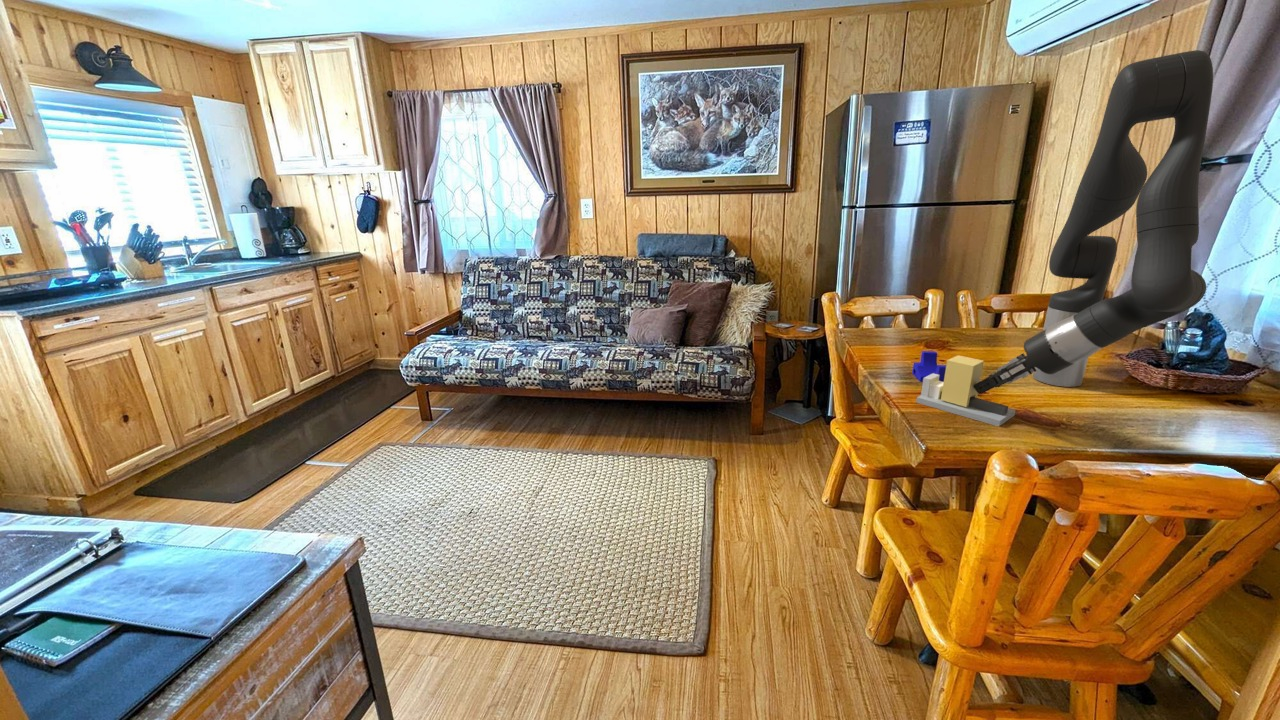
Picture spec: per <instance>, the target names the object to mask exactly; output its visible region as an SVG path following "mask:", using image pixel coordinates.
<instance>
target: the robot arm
mask: <svg viewBox="0 0 1280 720" xmlns="http://www.w3.org/2000/svg"><path fill="white" fill-rule="evenodd" d="M1213 87H1214V67H1213V62H1212V59H1211V56H1210V55H1209V54H1208V53H1207V52H1206V51H1204V50H1198V49H1197V50H1188V51H1182V52H1178V53H1174V54H1169V55H1168V54H1167V55H1162V56H1158V57H1151V58H1149V59H1147V58H1146V59H1143V60H1139V61H1135V62H1131V63H1130V64H1129V63H1128V64H1127V65H1125V66H1124V67H1123V68H1122V69H1120V71H1119V73H1118V74H1117V76H1116V77H1115V80H1114V82H1113V84H1112V87H1111V88H1110V89H1111V90H1110V93H1109V96H1108V99H1107V103H1106V107H1105V111H1104V114H1103V117H1102V120H1101V126H1100V128H1099V129H1100V130H1099V132H1098V136H1097V139H1096V143H1095V145H1094V148H1093V151H1092V153H1091V156H1090V159H1089V161H1088V163H1087V166H1086V168H1085V170H1084V173H1083V176H1082V177H1081V179H1080V182H1079V185H1078V187H1077V191H1076V193H1075V197H1074V199H1073V203H1072V206H1071V208H1070V211H1069V215H1068V217H1067V219H1066V222H1065V224H1064V226H1063V227H1062V230H1061V232H1060V234H1059V236H1058V238H1057V239H1056V242H1055V243H1054V246H1053V248H1052V251H1051V254H1050V257H1049V261H1048V262H1049V263H1048V265H1049V271H1050V273H1051V274H1052V275H1054V276H1055V277H1058V278H1065V279H1082V280H1086V281H1085V282H1084V283H1083V284H1081V285H1078V286H1077V287H1074V288H1072V289H1067V290H1063V291H1057V292H1055V293H1053V294H1051V296H1049V297H1050V298H1049V302H1048V306H1047V311H1046V315H1045V321H1044V325H1043V329H1042V331H1040V332H1038V333H1036V334H1034V335H1033V336H1031V337H1029V338H1027V339H1026V340H1025V341H1024V342H1023V350H1024V352H1025V353H1021V354H1020V355H1017V356H1016V357H1013V358H1012V359H1010V360H1009V361H1008V362H1007V363H1005V364H1004V365H1001V366H1000V367H998V368H997V369H996V371H994V372H993V373H991V374H989V375H988V377H986V378H984V379H982V380H980V382H978V383H977V384H975V385H974V386H973V387H974V389H975V390H976V391H977V393H978V395H983V394H984V393H986V392H988V391H990V390H992V389H994V388H1000V387H1002V386H1003V385H1005V384H1011V383H1013V382H1016V381H1017V380H1019V379H1024V378H1026V377H1029V376H1031V375H1032V377H1033V378H1034V380H1036V381H1038V382H1041V383H1044V384H1047V385H1050V386H1051V385H1052V386H1056V387H1057V386H1058V387H1065V388H1066V387H1068V388H1071V387H1075V388H1076V387H1079V386H1081V385H1082V384H1083V380H1084V375H1085V372H1086V369H1087V368H1086V367H1087V364H1088V360H1089V357H1091V356H1093V355H1094V354H1096V353H1097V352H1098V351H1100V350H1102V349H1103V348H1106V347H1108V346H1110V345H1112V344H1114V343H1116V342H1118V341H1120V340H1122V339H1124V338H1126V337H1128V336H1129V335H1131V334H1133V333H1135V332H1136V331H1137V332H1138V331H1139V330H1141V329H1143V328H1146V327H1150V326H1152V325H1154V324H1155V325H1156V324H1157V323H1159V322H1162V321H1164V320H1167V319H1170V318H1172V317H1175V316H1177V315H1178V314H1181V313H1184V312H1185V311H1187V310H1189V309H1191V308H1193V307H1195V306H1196V305H1197V304H1199V302H1200V301H1202V299H1203V297H1204V296H1205V295H1206V291H1207V283H1206V280H1205V278H1204V277H1203V276H1202V275H1201V274H1200V273H1199V272H1197V271H1195V270H1193V269H1192V248H1193V246H1195V245H1196V243H1197V242H1198V239H1199V236H1200V235H1199V233H1200V226H1199V225H1200V217H1199V216H1200V215H1199V213H1200V212H1199V210H1200V209H1199V180H1200V172H1201V171H1200V170H1201V164H1202V158H1203V153H1204V147H1205V141H1206V137H1207V129H1208V123H1209V117H1210V115H1209V114H1210V108H1211V102H1212V101H1211V100H1212V97H1213ZM1171 118H1173V119H1174V132H1173V134H1172V135H1173V136H1172V138H1171V142H1170V144H1169V147H1168V149H1167V150H1166V151H1165V153H1164V155H1163V157H1161V160H1160V162H1159V163H1158V164H1157V166H1156V167H1155V168H1154V170H1153V171H1152V173H1151V174H1150V175H1149V176H1148V168H1147V164H1146V161H1145V159H1144V158H1143V157H1142V155H1141V154H1140V152H1139V151H1138V149H1136V147H1135V146H1134V144H1133V142H1132V140H1131V138H1130V136H1129V135H1130V132H1131V130H1132V128H1133V127H1134V126H1136V125H1137V124H1140V123H1147V122H1154V121H1160V120H1166V119H1171ZM1135 203H1136V205H1135ZM1134 205H1135V206H1136V208H1135V217H1136V221H1135V223H1136V239H1137V240H1136V241H1137V247H1136V251H1135V256H1134V259H1133V260H1134V261H1133V266H1132V271H1131V272H1132V273H1131V278H1130V279H1131V281H1130V282H1131V283H1130V284H1131V289H1129V290H1127V291H1125V292H1123V293H1121V294H1118V295H1117V296H1114V297H1113V296H1112V297H1108V298H1104V297H1105V293H1106V290H1107V285H1108V282H1109V279H1110V276H1111V273H1112V269H1113V266H1114V265H1115V260H1116V257H1117V252H1118V243H1117V240H1116V238H1114V237H1113V236H1109V235H1091V234H1092V233H1095V231H1099V229H1102V228H1103V227H1105V226H1106V225H1109V224H1111V223H1112V222H1114V221H1115V220H1118V219H1119V218H1120V217H1122V216H1123V215H1124V214H1125V213H1127V212H1128V211H1130V209H1131V208H1132V207H1133V206H1134ZM1025 354H1026V355H1025Z"/></svg>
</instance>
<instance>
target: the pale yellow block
mask: <svg viewBox="0 0 1280 720" xmlns="http://www.w3.org/2000/svg"><path fill="white" fill-rule="evenodd" d="M984 362H985V360H981V359H977V358H972V357H969V356H968V357H967V356H963V355H959V354H957V355H955V356H953V357H951V358H949V359H947V360H946V364H945V365H946V371H945V377H944V383H943V389H942V395H941V400H943V401H946V402H950V403H954V404H957V405H961V406H964V407H967V406H969V400H970V397H976V398H978V395H979V394H978V393H977V391H976V390H975V389H974V387H973V386H974V385H975V384H977V383H978V382H980V381H981V377H982V373H983V367H984Z"/></svg>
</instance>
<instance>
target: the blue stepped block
mask: <svg viewBox="0 0 1280 720" xmlns="http://www.w3.org/2000/svg"><path fill="white" fill-rule="evenodd" d="M920 355H921V356H920V360H919V361H920V362H913V365H912V366H913V367H912V375H913V376H914V377H915V378H916V379H917V380H918V381H919V382H920V383H923V378H924V377H926V376H928V375H931V374H933V373H934V374H938V375H940V376H939V381H942V382H944V377H945V371H946V365H947V364H938V352H937V351H933V350H932V351H930V350H928V351H927V350H922V351H921V354H920Z"/></svg>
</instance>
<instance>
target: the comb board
mask: <svg viewBox="0 0 1280 720" xmlns="http://www.w3.org/2000/svg"><path fill="white" fill-rule="evenodd" d="M939 376H940V375H938V374H934V373H933V374H931V375H928V376H926V377H924V378H923V382H922V386H921V392H920V395H918V396H917V397H916V401H915V403H917V404H920V405H923V406H928V407H931V408H934V409H937V410H941V411H944V412H947V413H950V414H955V415H958V416H962V417H964V418H968V419H972V420H975V421H978V422H982V423H986V424H988V425H992V426H996V427H1000V426H1002V425H1004V423H1006V422H1007V421H1009V420H1010V419H1012V418H1013V417H1014V416H1015V415H1016V409H1014V408H1010V407H1009V406H1008V405H1006V404H1002V403H998V402H994V401H990V400H987V399H982V398H979V397H977V398H976V397H970V400H969V406H967V407H964V406H961V405H957V404H954V403H950V402H946V401H943V400H941V395H942V389H943V383H944V382H942V381H939Z"/></svg>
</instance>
